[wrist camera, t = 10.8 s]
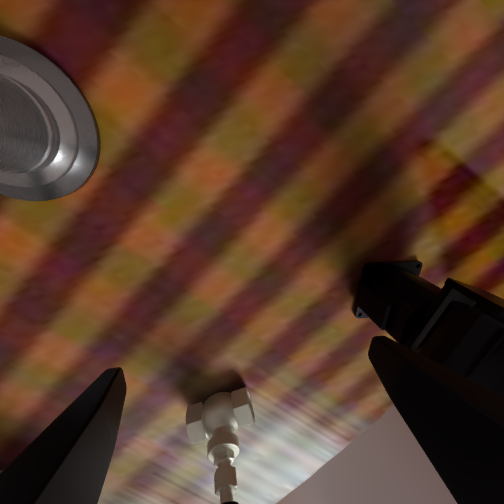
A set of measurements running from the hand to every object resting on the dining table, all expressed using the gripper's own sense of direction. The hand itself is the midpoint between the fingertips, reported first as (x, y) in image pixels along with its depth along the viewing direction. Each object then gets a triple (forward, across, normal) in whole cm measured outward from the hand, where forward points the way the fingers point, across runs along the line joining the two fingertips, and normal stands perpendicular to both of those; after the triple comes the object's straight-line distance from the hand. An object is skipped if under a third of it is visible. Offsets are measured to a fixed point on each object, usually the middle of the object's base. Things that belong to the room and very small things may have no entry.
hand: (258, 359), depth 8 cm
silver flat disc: (+13, +13, -8) cm, 20 cm away
